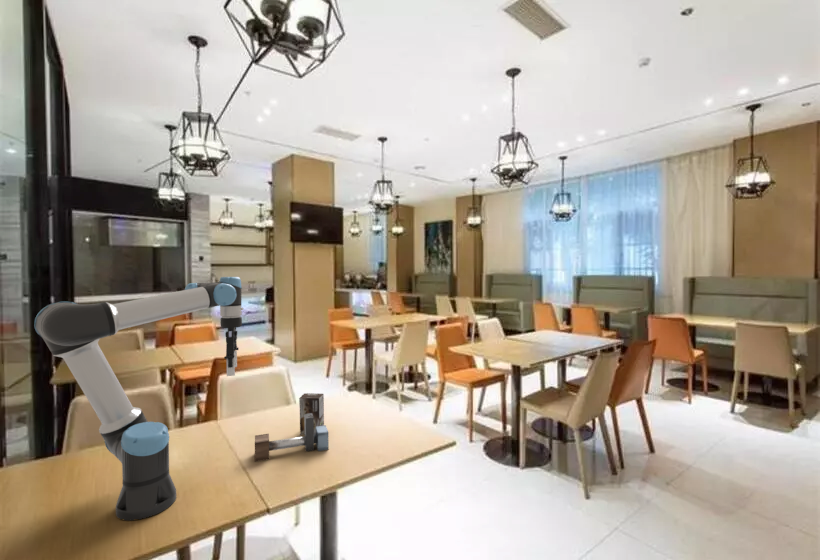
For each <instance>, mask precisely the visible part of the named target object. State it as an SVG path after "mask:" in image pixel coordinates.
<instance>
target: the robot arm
mask: <svg viewBox="0 0 820 560" xmlns="http://www.w3.org/2000/svg"><path fill="white" fill-rule="evenodd" d="M242 290H243V288H242V279H241V278H240V277H239V276H220V278H219V281H218V282H192V283H188V284H186V285H185V288H184V289H183V290H179V291H174V292H169V293H164V294H160V295H159V294H158V295H153V296H147V297H145V298H138V299H133V300H127V301H122V302H118V303H114V304H113V303H109V302H107V301H105V302H100V303H92V304H89V303H88V304H87V303H86V304H78V303H77V302H73V301H58V302H54V303H50V304H47V305H46V306H45V307H43V308H42V309H40V311H39V312H38V313H37V315H36V317H35V318H34V325H33V326H34V329H35V332H36V333H37V335H39V336H40V337H41V338H42V339H43V341H44V342H45V344H46V346H47V347H48V349H49V351H50V352H51V354H52V356H53V357H58V358H62V359H63V361H64V362H65V364H66V365H67V367H68V369H69V371H70V372H71V374H72V375H73V376H72V377H74V379H75V381H76V383H77V385H78V386H79V388H80V389H81V391H82V392H83V395H84V396H85V398H86V399H87V401H88V402H89V404H90V406H91V407H92V409H93V410H94V412H95V415H96V416H97V418H98V419H99V421H100V423H101V424H100V426H99V427H98V428H99V429H98V432H99V434H100V435H101V437H102V439H103V441H104V443H105V445H104V446H105V447H106V449H107V450H108V452H109V453H111V454H112V455H113V456H115V458H117V460H118V461H119V462H120V463H121V469H122V470H121V471H122V487H121V488H120V489H121V490H120V493H119V496H118V499H117V501H116V504H115V516H116V518H118V519H119V518H120V519H119V520H121V519H124V520H123V521H135V520H134V519H139V520H143V519H146V517H147V518H149V516H150V517H153V516H156V515H157V514H159V513H162V512H164V511H165V510H166V509H168V508H170V507H171V506H172V505H173V504H174V503H175V501H176V500H177V488H176V486H175V483H174V481H173V479H172V477H171V474H170V443H169V441H170V434H169V429H168V427H167V425H166V424H164V423H163V422H159V421H157V422H155V421H148V420H147V418H146V416H145V414H144V412H143V410H142V408H140V407H135V406H133V404H132V403H131V401H130V399H129V398H128V396H127V394H126V392H125V390H124V388H123V386H122V385H121V383H120V382H119V381H120V380H119V379H118V378H117V376H116V374H115V372H114V370H113V368H112V367H111V365H110V363H109V361H108V359H107V358H106V356H105V354H104V352H103V351H102V348H101V347H100V345H99V341H100V339H103V338H107V337H111V336H114V335H116V334H117V333H118V332H119V331H121V330H124V329H128V328H132V327H133V328H134V327H136V326H141V325H144V324H148V323H152V322H157V321H161V320H165V319H168V318H173V317H178V316H181V315H185V314H189V313H193V312H197V311H201V310H205V309H211V308H214V307H215V308H216V307H219V316H220V317H221V318H220V327H221V328H223V329H224V328H225V329H227V330H226V331H225V343H226V345H225V346H226V347H225V348H226V351H225V356H224V358H223V359H224V360H226V361H225V362H226V377H234V376H236V371H235V370H236V368H237V367H238V351H239V347H238V345H237V344H238V343H237V341H238V340H237V339H238V330H237V328H240V327H242V325H243V317H242V313H243V312H242V311H243V310H244V307H242ZM152 515H153V516H152ZM142 518H143V519H142Z"/></svg>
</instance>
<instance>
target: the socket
mask: <svg viewBox="0 0 820 560" xmlns="http://www.w3.org/2000/svg"><path fill="white" fill-rule="evenodd" d="M316 434H317V435H318V443H316V444H315V445H316V448H317V452H321V451H328V450H329V447H330V446H329V430H328V427H327V425H325V424H324V426H318V427H316Z"/></svg>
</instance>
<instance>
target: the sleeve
mask: <svg viewBox="0 0 820 560" xmlns="http://www.w3.org/2000/svg"><path fill="white" fill-rule="evenodd" d="M269 441H270V434H269V433H264V434H258V435H254V462H262V461H268V460H270V451H269Z"/></svg>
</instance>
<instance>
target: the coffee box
mask: <svg viewBox="0 0 820 560" xmlns="http://www.w3.org/2000/svg"><path fill="white" fill-rule="evenodd" d="M324 397H325V395H324V393H308V392H307V393H303V394H302V395H301V396H300V397H299V398H298V399H299V400H298V403H299V434H300V435H305V426H304V414H309V413H312V414H313V417H314V435H315V434H316V427H318V426H324V425H325V414H324V412H325V405H324V401H325V398H324Z"/></svg>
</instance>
